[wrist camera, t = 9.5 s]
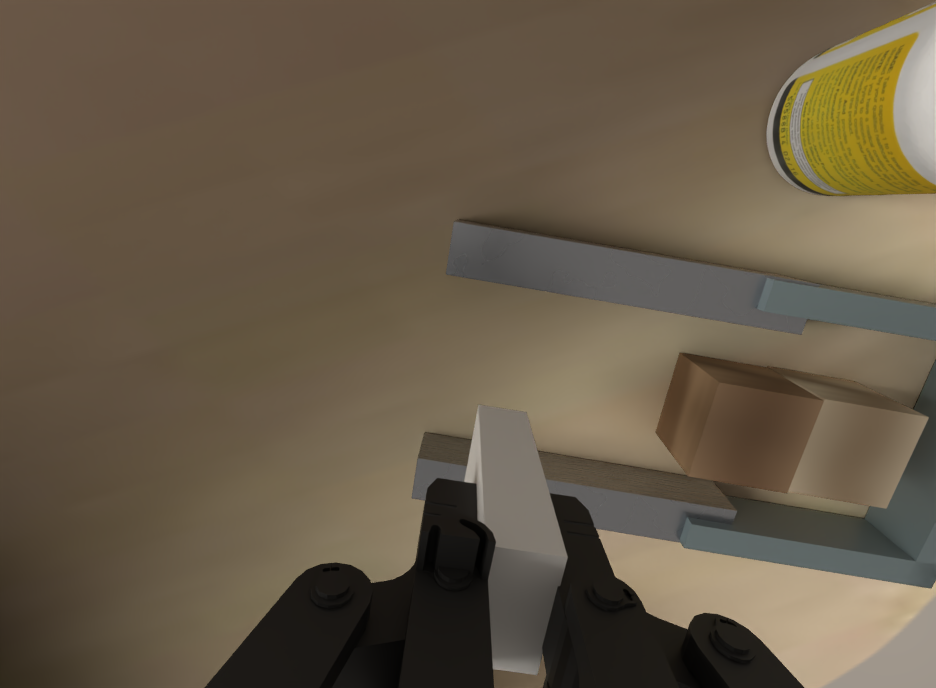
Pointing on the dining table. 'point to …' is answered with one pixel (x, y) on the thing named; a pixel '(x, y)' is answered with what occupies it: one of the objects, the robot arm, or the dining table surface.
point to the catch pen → (882, 530)
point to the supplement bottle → (862, 114)
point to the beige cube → (854, 442)
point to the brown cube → (736, 422)
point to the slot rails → (623, 282)
